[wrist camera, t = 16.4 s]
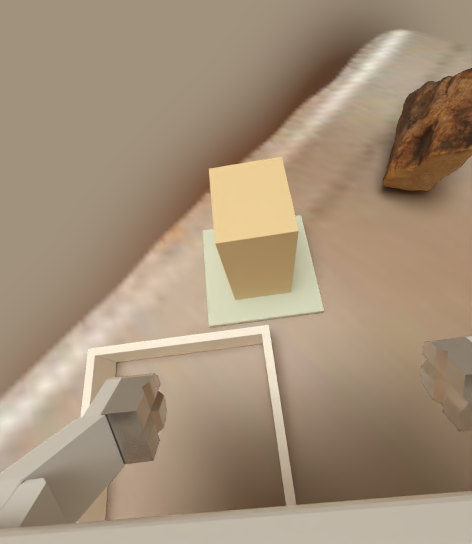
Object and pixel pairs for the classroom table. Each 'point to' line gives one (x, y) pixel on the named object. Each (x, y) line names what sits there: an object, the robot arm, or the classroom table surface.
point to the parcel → (254, 227)
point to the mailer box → (105, 358)
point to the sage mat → (265, 307)
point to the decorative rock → (432, 134)
